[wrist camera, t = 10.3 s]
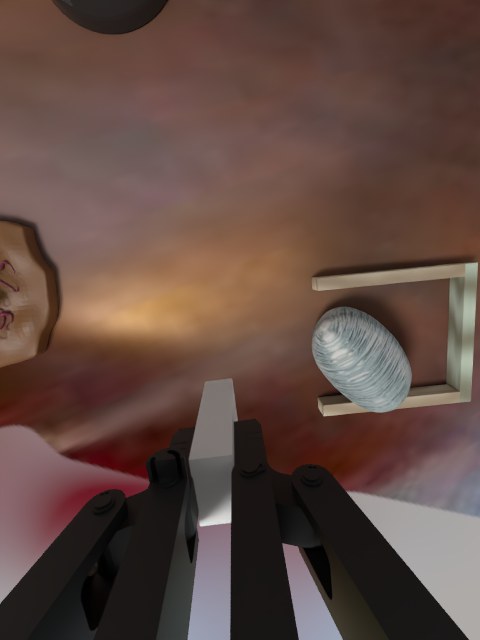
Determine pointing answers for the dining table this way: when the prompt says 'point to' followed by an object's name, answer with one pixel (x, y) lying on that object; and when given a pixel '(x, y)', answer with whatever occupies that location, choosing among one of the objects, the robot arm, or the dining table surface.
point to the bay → (458, 331)
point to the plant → (24, 295)
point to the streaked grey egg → (361, 359)
